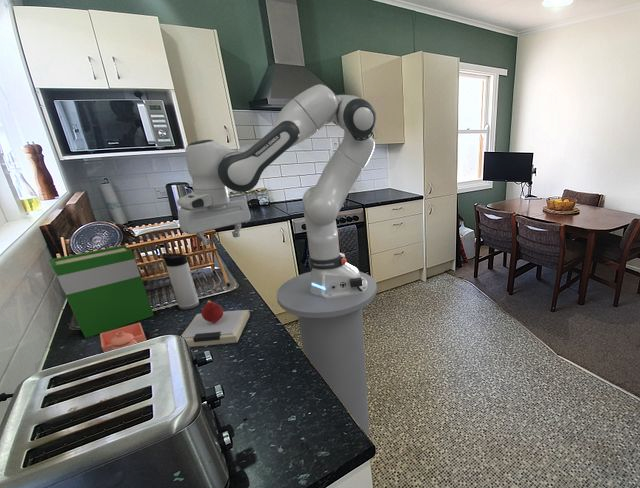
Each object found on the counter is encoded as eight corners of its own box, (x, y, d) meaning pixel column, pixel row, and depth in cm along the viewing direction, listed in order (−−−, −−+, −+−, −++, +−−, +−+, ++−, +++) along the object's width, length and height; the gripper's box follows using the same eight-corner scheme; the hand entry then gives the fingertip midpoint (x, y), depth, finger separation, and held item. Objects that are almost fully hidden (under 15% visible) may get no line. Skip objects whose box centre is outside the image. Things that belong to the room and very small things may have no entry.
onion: (226, 316, 114) (221, 294, 111) (224, 325, 109) (218, 303, 106) (206, 319, 112) (200, 297, 108) (203, 328, 107) (196, 306, 104)
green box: (147, 308, 123) (125, 244, 113) (154, 315, 119) (131, 250, 109) (80, 329, 110) (49, 259, 100) (85, 338, 106) (53, 266, 96)
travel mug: (173, 308, 123) (157, 256, 115) (190, 300, 129) (176, 250, 121) (187, 311, 122) (171, 259, 113) (203, 303, 127) (189, 252, 119)
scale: (250, 315, 120) (248, 307, 119) (237, 342, 106) (235, 334, 105) (199, 319, 117) (196, 312, 116) (178, 348, 103) (175, 339, 101)
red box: (104, 345, 103) (92, 317, 99) (144, 333, 109) (134, 306, 105) (109, 376, 91) (96, 345, 87) (153, 361, 97) (142, 331, 93)
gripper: (239, 190, 114) (247, 231, 120) (170, 201, 98) (183, 247, 104) (250, 193, 111) (258, 234, 117) (181, 204, 95) (193, 251, 101)
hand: (222, 240), depth 110 cm, fingers open, 8 cm apart
